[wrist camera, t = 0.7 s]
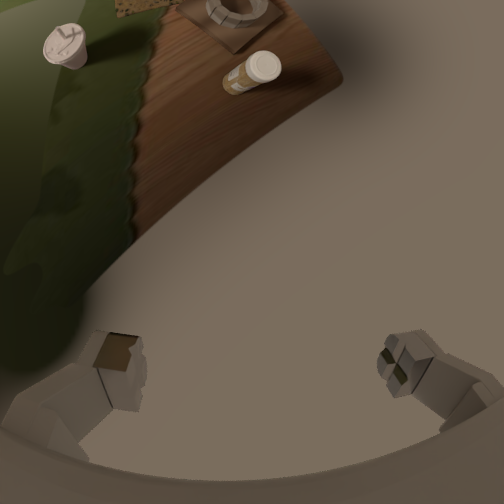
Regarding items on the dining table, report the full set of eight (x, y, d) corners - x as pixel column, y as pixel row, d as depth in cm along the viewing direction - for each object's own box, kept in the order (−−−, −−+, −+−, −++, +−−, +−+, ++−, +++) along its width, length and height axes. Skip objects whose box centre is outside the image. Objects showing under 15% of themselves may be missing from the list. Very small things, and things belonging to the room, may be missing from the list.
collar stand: (175, 10, 32) (179, -4, 27) (228, -26, 31) (237, -40, 26) (233, 54, 39) (243, 45, 34) (280, 15, 38) (294, 5, 33)
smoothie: (101, 47, 30) (88, 14, 18) (83, 80, 32) (61, 57, 20) (71, 40, 27) (50, 8, 15) (54, 72, 29) (24, 50, 17)
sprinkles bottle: (231, 99, 42) (263, 86, 31) (216, 79, 40) (243, 58, 28) (252, 86, 42) (288, 71, 31) (237, 67, 40) (270, 44, 29)
